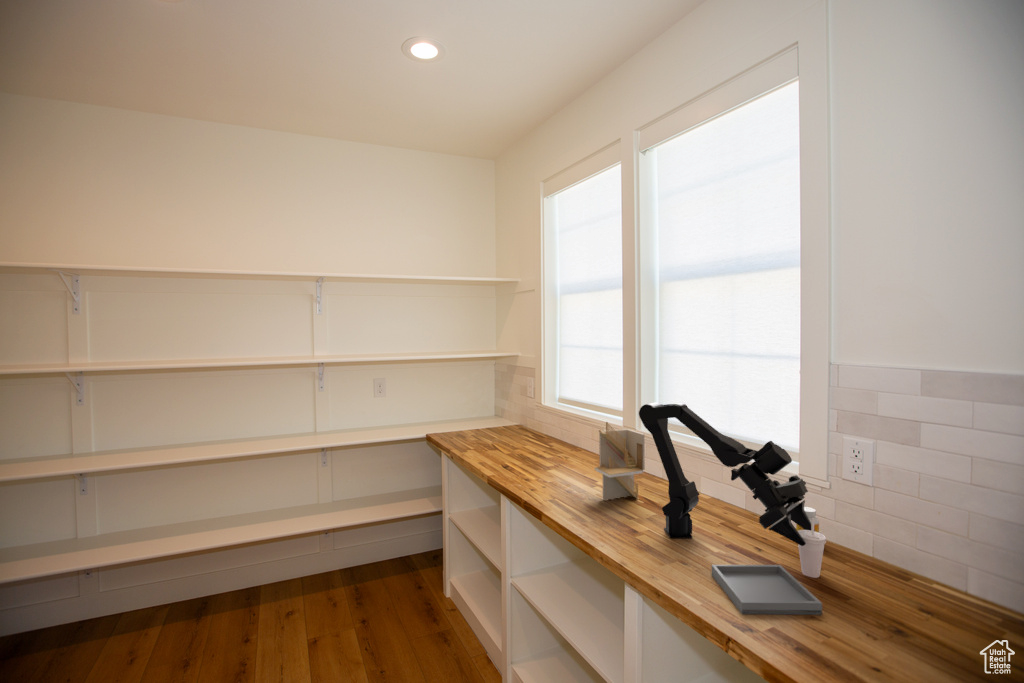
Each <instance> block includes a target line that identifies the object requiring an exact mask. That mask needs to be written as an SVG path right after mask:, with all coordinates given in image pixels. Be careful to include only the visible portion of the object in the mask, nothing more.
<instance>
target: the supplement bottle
mask: <svg viewBox="0 0 1024 683" xmlns="http://www.w3.org/2000/svg"><path fill="white" fill-rule="evenodd" d="M804 511H805V513H806V515H807V517H808V518H809V520H810V522H811V518H814V529H815V531H816V532H819V531H820V520H819V519H818V517H817V510H816V509H815V508H814V507H810V506H809V507H808V506H804ZM795 524H796V523H795ZM795 526H796V527H795V528H796V530H797V531H798V530H805V529H803V528H802V527H800V526H799V525H798V524H796V525H795ZM819 533H820V532H819Z"/></svg>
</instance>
